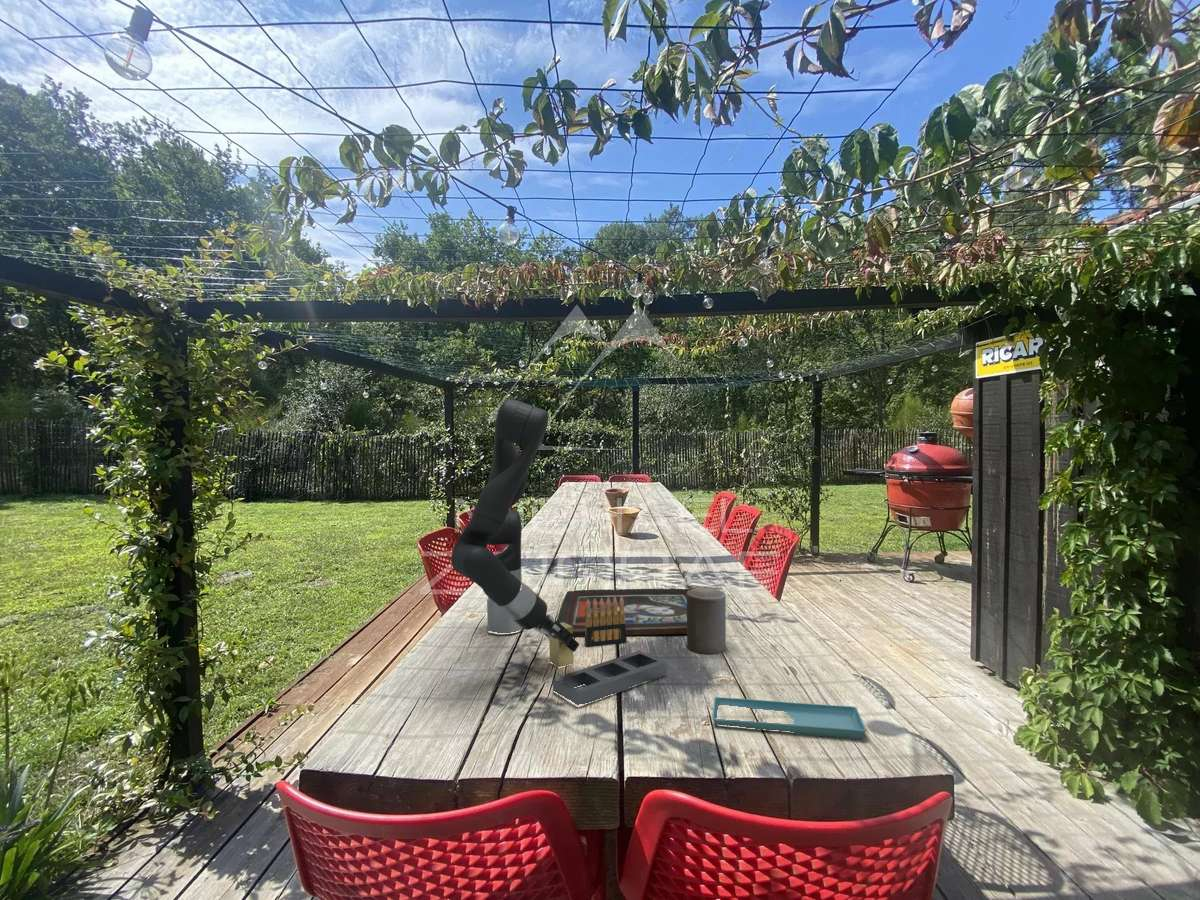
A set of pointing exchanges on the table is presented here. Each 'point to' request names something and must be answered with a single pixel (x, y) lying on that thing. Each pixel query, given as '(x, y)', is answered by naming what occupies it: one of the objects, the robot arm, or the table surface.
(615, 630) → the ammunition clip
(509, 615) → the robot arm
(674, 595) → the religious icon
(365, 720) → the table surface
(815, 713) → the rectangular tray
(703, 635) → the pillar candle
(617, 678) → the rack rail
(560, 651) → the brass peg
